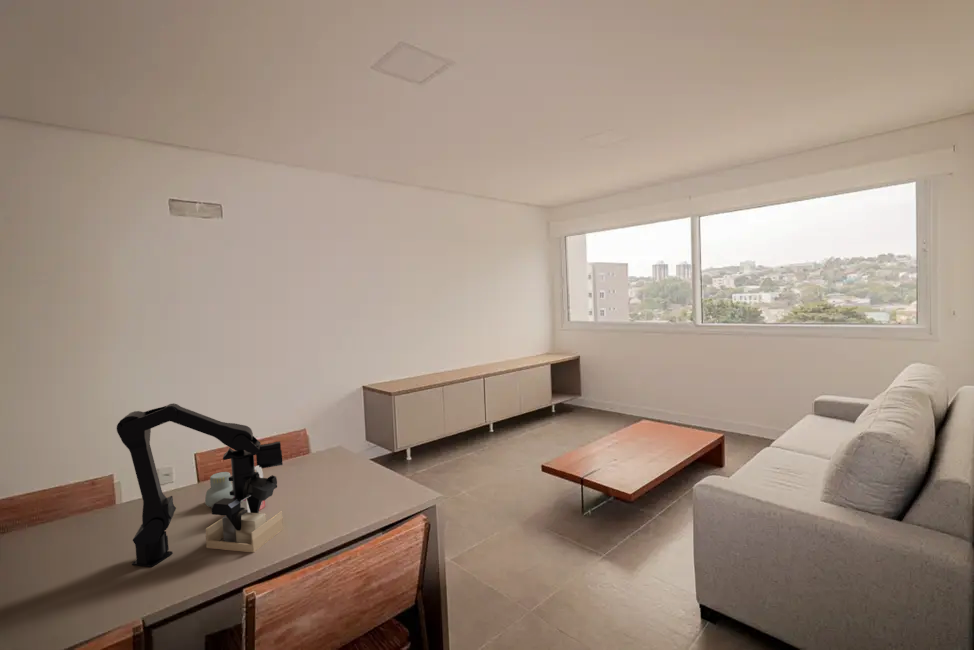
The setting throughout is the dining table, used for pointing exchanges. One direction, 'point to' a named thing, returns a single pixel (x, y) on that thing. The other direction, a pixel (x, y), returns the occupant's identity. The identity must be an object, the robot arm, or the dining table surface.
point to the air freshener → (218, 488)
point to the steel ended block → (242, 527)
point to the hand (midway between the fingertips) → (247, 524)
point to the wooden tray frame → (258, 535)
